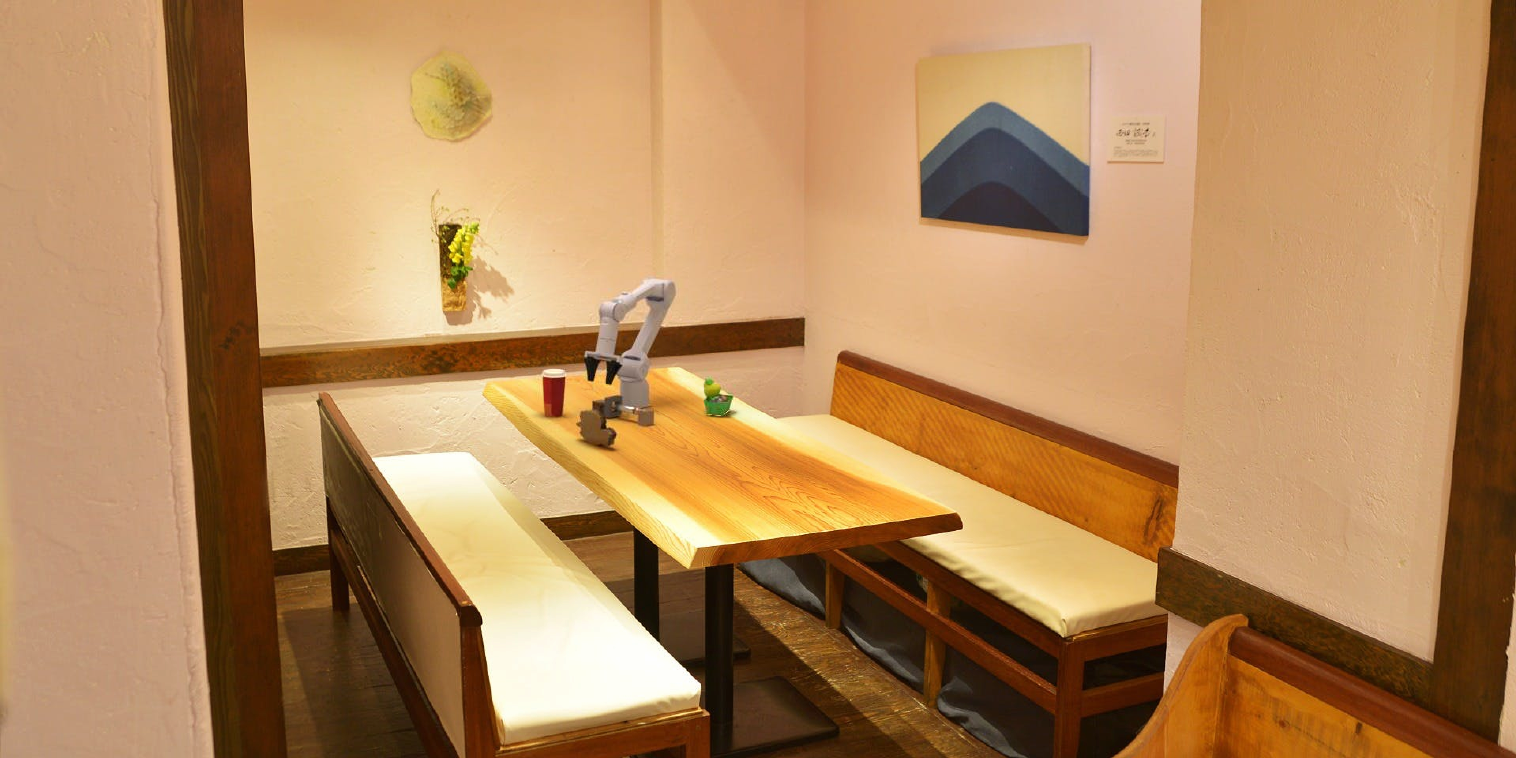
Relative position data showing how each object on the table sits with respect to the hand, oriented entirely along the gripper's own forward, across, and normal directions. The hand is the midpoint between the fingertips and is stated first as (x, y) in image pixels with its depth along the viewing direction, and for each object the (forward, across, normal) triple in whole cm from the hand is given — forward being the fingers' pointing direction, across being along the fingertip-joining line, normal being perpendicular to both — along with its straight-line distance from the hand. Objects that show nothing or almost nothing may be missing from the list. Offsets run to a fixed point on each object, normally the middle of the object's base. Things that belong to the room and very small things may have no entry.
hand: (599, 382), depth 402 cm
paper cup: (+12, -11, -6) cm, 18 cm away
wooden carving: (+18, +24, -23) cm, 38 cm away
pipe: (+10, +8, +4) cm, 14 cm away
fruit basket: (+3, +23, +31) cm, 39 cm away
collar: (+10, +4, +4) cm, 12 cm away
